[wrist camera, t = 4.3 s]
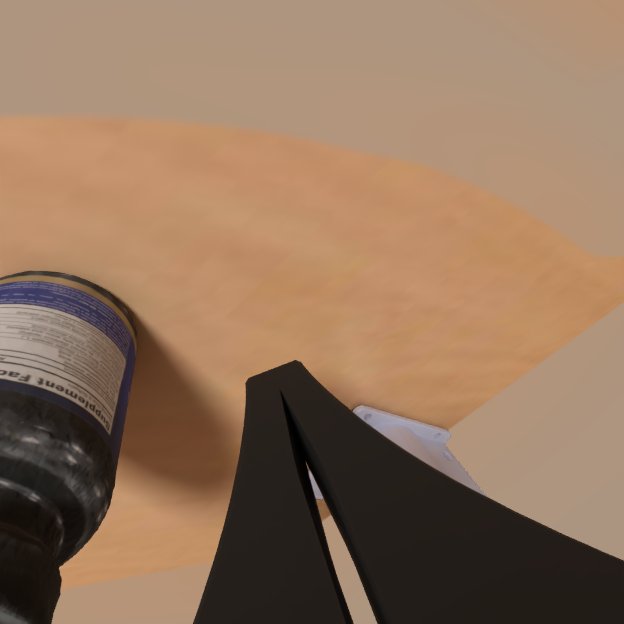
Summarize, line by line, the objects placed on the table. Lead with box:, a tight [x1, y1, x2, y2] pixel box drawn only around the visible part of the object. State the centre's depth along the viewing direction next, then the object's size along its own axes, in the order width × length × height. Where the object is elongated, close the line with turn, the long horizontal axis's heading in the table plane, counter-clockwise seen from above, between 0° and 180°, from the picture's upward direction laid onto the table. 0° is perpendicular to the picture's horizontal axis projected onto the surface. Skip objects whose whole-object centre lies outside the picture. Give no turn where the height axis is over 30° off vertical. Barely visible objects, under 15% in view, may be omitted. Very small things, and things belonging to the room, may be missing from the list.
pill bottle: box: [0, 271, 137, 624], centre depth 10 cm, size 6×6×11 cm
